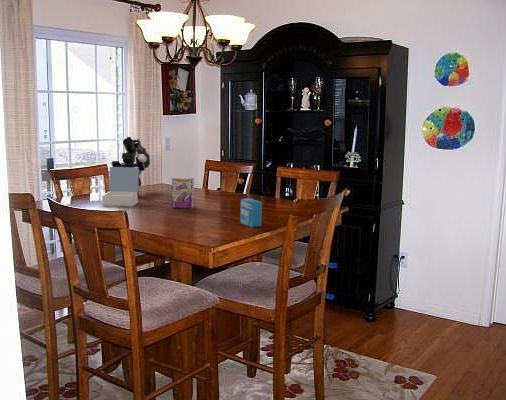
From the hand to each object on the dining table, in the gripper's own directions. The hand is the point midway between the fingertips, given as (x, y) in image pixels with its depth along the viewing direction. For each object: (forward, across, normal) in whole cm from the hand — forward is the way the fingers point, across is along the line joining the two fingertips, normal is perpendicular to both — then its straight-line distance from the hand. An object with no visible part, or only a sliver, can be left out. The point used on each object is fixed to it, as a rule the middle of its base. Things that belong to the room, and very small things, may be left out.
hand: (125, 177), depth 308 cm
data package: (+50, +78, -33) cm, 98 cm away
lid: (+5, +1, -5) cm, 7 cm away
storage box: (+20, +2, -2) cm, 20 cm away
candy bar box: (+23, +38, -5) cm, 45 cm away
